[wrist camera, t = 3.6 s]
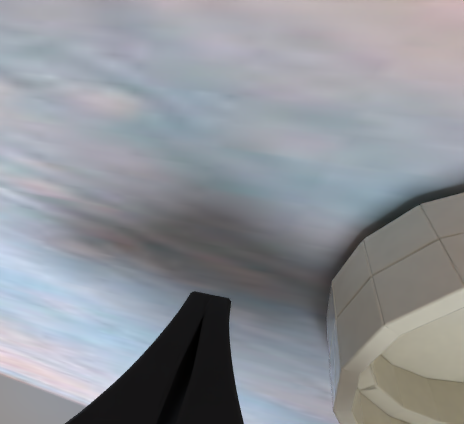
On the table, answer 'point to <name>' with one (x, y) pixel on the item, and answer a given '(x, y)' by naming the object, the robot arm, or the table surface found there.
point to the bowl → (401, 321)
